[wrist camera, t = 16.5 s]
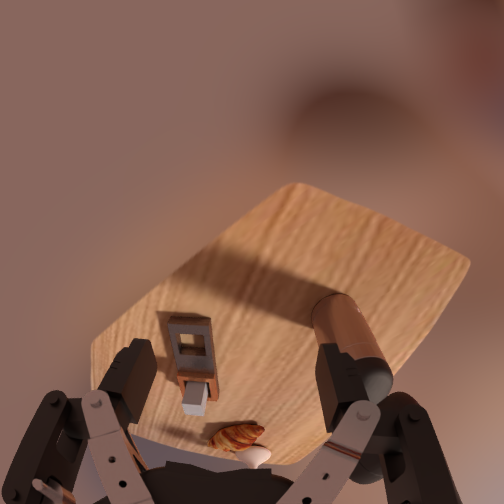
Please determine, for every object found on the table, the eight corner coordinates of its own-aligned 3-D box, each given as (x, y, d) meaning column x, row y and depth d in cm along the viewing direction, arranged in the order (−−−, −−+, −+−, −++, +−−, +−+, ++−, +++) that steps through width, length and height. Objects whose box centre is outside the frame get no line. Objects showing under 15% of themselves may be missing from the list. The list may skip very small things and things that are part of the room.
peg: (209, 382, 58) (203, 416, 49) (193, 381, 58) (185, 414, 49) (207, 371, 56) (201, 405, 47) (190, 370, 57) (181, 403, 47)
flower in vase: (264, 458, 73) (264, 519, 50) (231, 453, 72) (226, 516, 49) (278, 442, 69) (281, 511, 45) (242, 438, 68) (238, 509, 44)
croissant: (216, 435, 73) (222, 456, 68) (193, 435, 66) (199, 459, 61) (269, 416, 67) (277, 440, 62) (247, 417, 61) (256, 444, 55)
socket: (219, 391, 59) (217, 403, 55) (186, 388, 59) (183, 400, 55) (210, 318, 51) (207, 330, 47) (170, 316, 51) (165, 328, 47)
